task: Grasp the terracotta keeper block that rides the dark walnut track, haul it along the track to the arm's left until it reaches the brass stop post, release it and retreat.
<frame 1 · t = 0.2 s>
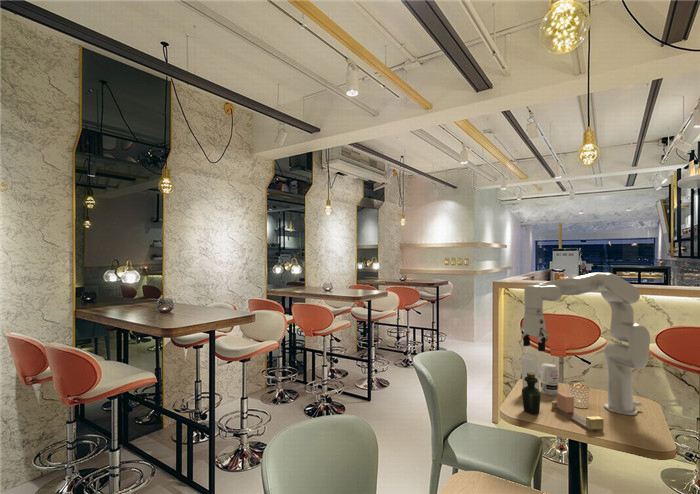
hand: (533, 348, 164), 30 cm above the table, fingers open, 9 cm apart
supplement can: (549, 393, 190), on the table
stop post: (595, 430, 148), resting on track
potion bottle: (531, 412, 166), on the table
track: (575, 419, 159), on the table
milk: (530, 394, 189), on the table
keeper: (565, 402, 165), point 5 cm above the table, slide at 0.0 cm
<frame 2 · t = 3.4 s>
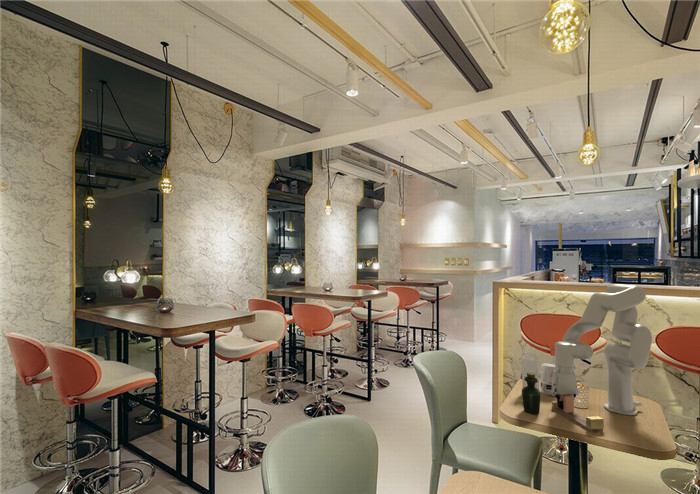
hand: (565, 408, 165), 2 cm above the table, fingers closed on keeper, 4 cm apart
keeper: (565, 402, 165), point 5 cm above the table, slide at 0.0 cm, touching gripper
everything else where it was.
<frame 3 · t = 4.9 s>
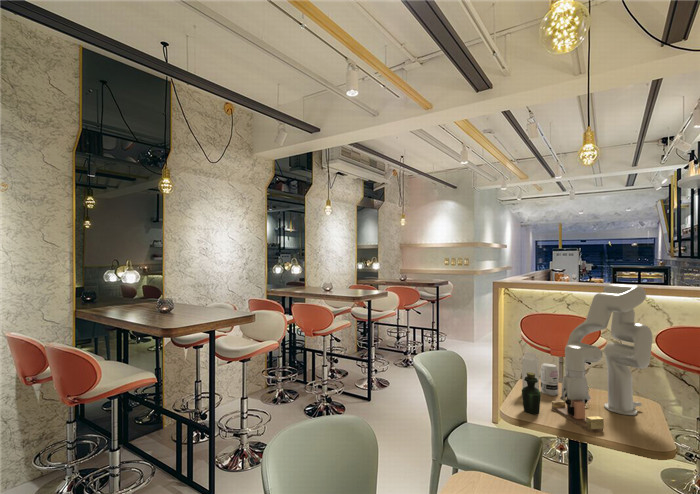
hand: (575, 414, 159), 2 cm above the table, fingers closed on keeper, 4 cm apart
keeper: (575, 407, 159), point 5 cm above the table, slide at 6.6 cm, touching gripper
everything else where it was.
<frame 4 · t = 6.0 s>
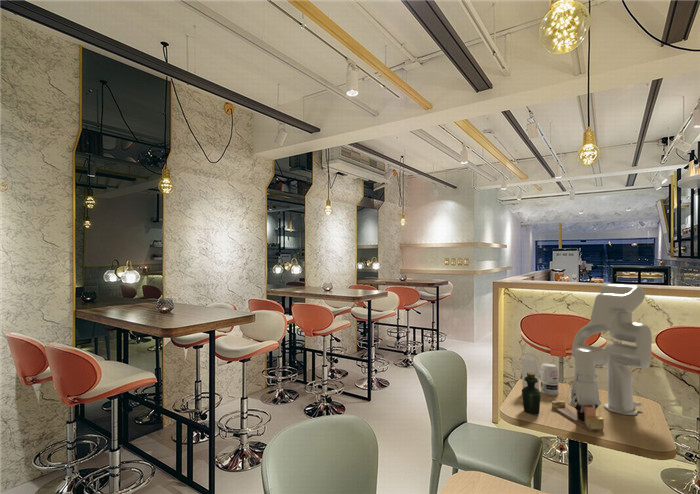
hand: (586, 419, 153), 2 cm above the table, fingers closed on keeper, 4 cm apart
keeper: (585, 413, 153), point 5 cm above the table, slide at 12.4 cm, touching gripper
everything else where it was.
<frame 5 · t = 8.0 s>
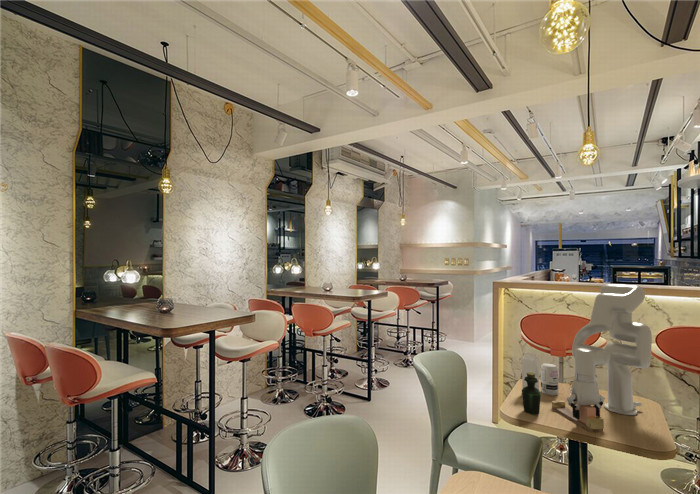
hand: (586, 417, 153), 3 cm above the table, fingers open, 9 cm apart
keeper: (586, 413, 153), point 5 cm above the table, slide at 12.5 cm
everything else where it was.
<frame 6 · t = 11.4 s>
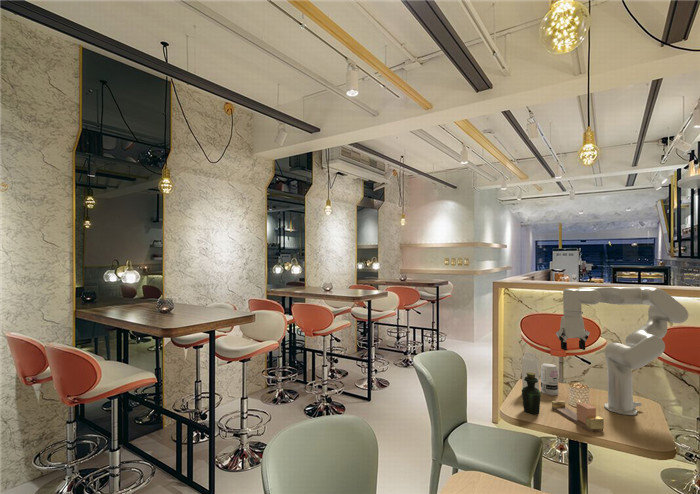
hand: (573, 349, 171), 28 cm above the table, fingers open, 9 cm apart
nothing on the table moved.
at the end: keeper slide at 12.5 cm; the gripper is holding nothing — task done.
